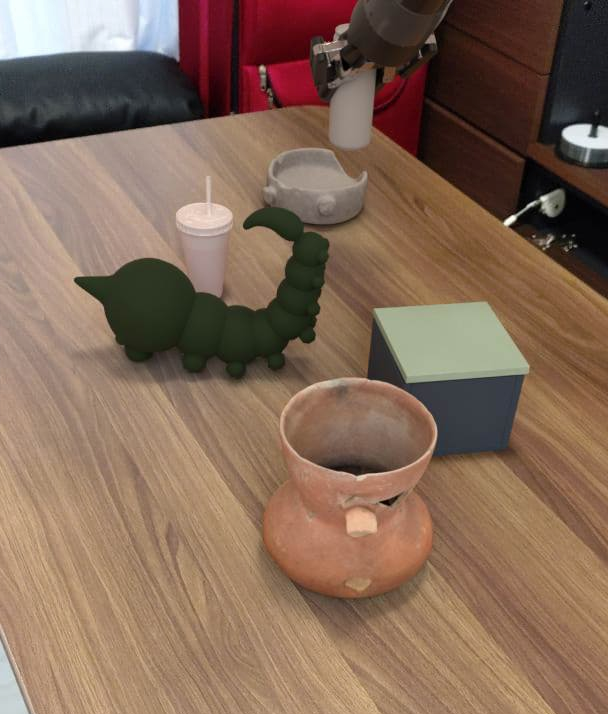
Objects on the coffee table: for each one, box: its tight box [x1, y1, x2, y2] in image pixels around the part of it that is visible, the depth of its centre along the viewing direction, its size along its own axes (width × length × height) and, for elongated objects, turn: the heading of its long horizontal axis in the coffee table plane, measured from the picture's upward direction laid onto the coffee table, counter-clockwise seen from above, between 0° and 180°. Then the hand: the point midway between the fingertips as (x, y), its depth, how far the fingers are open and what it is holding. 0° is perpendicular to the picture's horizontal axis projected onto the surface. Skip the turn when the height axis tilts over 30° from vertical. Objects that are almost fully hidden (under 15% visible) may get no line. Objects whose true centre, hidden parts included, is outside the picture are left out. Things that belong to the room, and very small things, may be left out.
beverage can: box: [328, 22, 377, 152], centre depth 107 cm, size 5×5×12 cm
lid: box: [372, 301, 531, 383], centre depth 92 cm, size 12×12×1 cm
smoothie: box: [175, 175, 234, 299], centre depth 109 cm, size 6×6×14 cm
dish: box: [261, 147, 369, 225], centre depth 130 cm, size 14×14×5 cm
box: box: [366, 316, 526, 457], centre depth 96 cm, size 12×12×9 cm
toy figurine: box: [73, 206, 331, 379], centre depth 98 cm, size 9×19×25 cm
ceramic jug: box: [261, 376, 437, 599], centre depth 80 cm, size 18×14×14 cm
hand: (346, 91), depth 109 cm, fingers closed on beverage can, 5 cm apart
